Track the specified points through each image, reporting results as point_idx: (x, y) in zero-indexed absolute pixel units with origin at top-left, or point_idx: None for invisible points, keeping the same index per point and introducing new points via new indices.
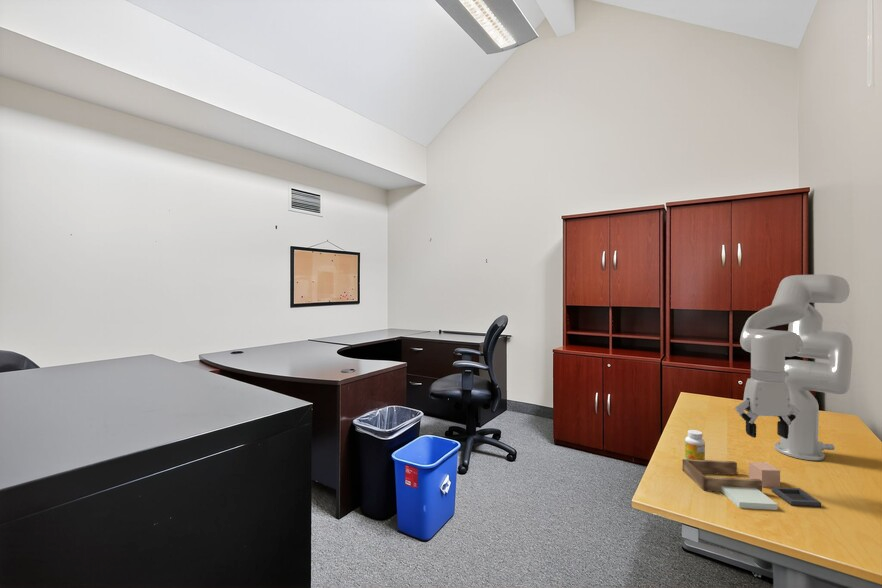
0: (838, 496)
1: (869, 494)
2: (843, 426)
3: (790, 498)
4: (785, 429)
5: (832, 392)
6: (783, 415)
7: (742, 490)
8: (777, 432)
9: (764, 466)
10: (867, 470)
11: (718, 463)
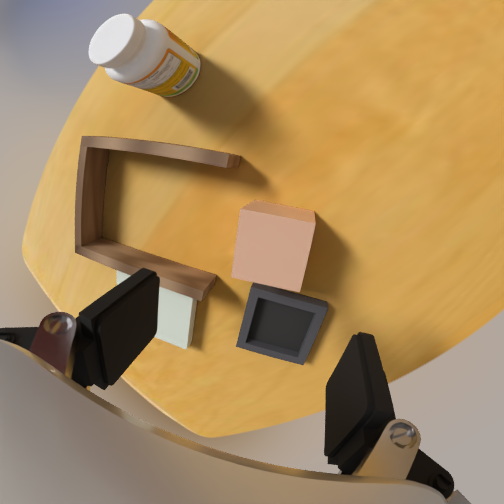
0: (403, 329)
1: (471, 328)
2: None
3: (245, 338)
4: (327, 433)
5: None
6: None
7: None
8: (357, 340)
9: (270, 253)
10: None
11: (166, 155)
